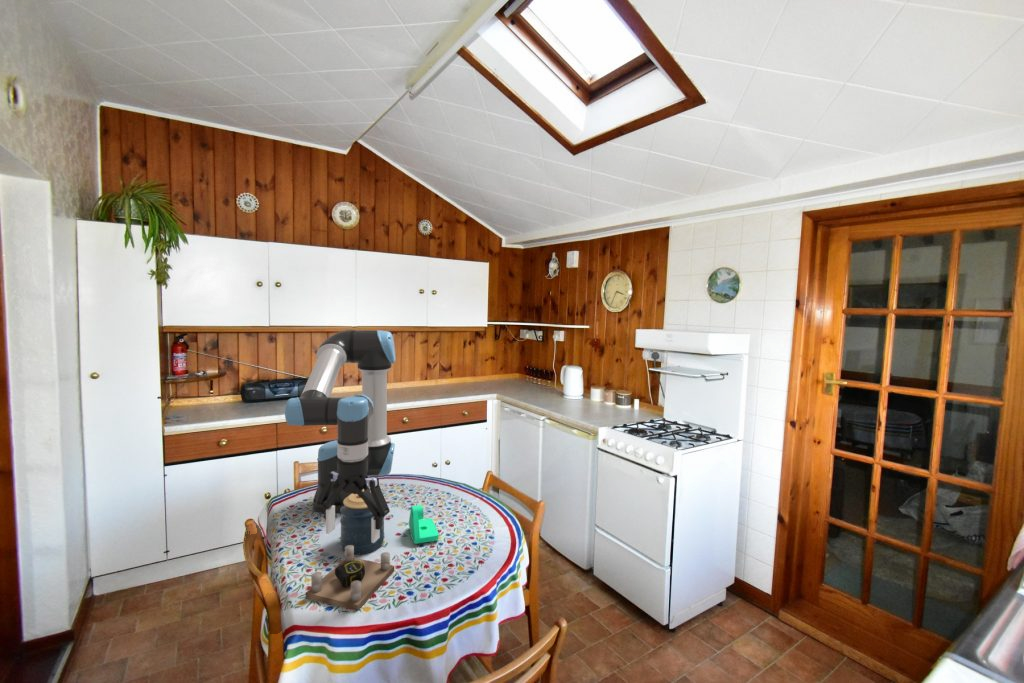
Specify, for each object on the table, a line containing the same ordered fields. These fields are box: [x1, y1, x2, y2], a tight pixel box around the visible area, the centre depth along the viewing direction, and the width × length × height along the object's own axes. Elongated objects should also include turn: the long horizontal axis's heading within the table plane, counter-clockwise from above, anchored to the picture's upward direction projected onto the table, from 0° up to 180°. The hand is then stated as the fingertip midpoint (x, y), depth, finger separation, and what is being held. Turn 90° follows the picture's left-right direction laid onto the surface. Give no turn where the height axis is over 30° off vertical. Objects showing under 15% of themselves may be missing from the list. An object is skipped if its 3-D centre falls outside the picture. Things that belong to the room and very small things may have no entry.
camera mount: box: [408, 504, 440, 545], centre depth 142 cm, size 12×8×10 cm, turn 22°
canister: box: [339, 489, 386, 555], centre depth 136 cm, size 13×13×18 cm
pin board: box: [305, 545, 395, 612], centre depth 117 cm, size 15×17×6 cm
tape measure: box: [335, 561, 365, 588], centre depth 116 cm, size 7×7×4 cm
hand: (352, 535), depth 116 cm, fingers open, 13 cm apart
